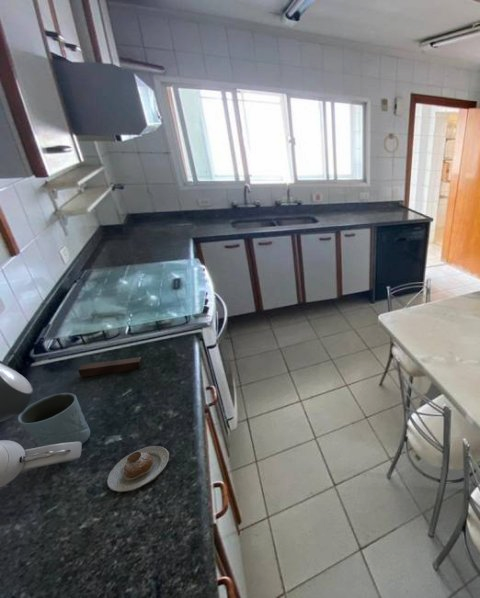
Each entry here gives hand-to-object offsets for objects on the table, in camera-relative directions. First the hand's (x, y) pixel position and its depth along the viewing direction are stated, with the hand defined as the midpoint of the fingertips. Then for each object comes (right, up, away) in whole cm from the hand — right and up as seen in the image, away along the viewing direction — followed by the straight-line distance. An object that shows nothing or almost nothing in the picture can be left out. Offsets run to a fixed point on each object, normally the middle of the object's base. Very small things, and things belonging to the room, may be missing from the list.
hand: (37, 459), depth 73 cm
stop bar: (-16, +12, +37) cm, 42 cm away
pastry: (+19, -5, +6) cm, 20 cm away
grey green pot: (-4, -1, +11) cm, 12 cm away
